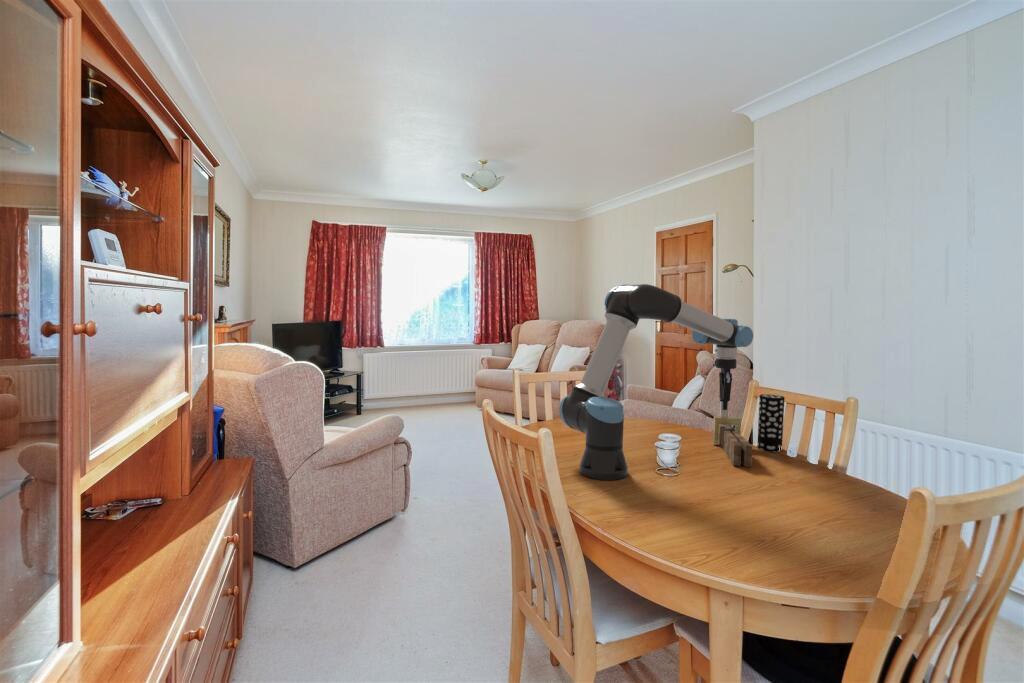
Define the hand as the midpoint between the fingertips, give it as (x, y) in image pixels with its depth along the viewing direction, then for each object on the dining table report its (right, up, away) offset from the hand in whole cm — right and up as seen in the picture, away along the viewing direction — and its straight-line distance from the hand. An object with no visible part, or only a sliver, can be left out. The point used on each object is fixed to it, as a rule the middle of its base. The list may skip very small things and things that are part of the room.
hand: (723, 417), depth 203 cm
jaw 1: (-6, -11, -22) cm, 25 cm away
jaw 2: (-3, -11, -22) cm, 25 cm away
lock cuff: (-1, -10, -6) cm, 11 cm away
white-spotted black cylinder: (+13, -11, -10) cm, 20 cm away
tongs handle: (-2, -10, -7) cm, 12 cm away
